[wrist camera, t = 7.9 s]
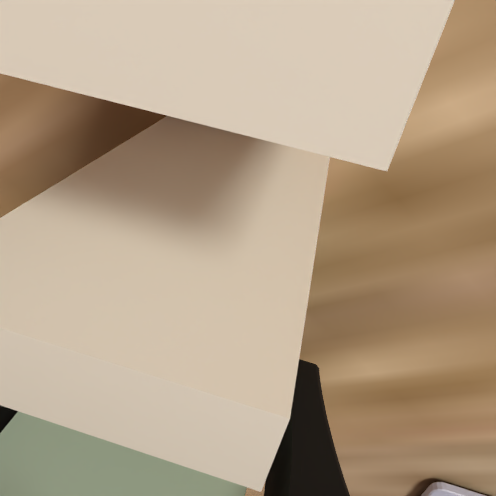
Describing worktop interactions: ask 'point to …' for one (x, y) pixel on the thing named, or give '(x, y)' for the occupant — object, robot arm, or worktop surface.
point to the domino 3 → (91, 466)
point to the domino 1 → (240, 63)
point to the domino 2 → (166, 296)
